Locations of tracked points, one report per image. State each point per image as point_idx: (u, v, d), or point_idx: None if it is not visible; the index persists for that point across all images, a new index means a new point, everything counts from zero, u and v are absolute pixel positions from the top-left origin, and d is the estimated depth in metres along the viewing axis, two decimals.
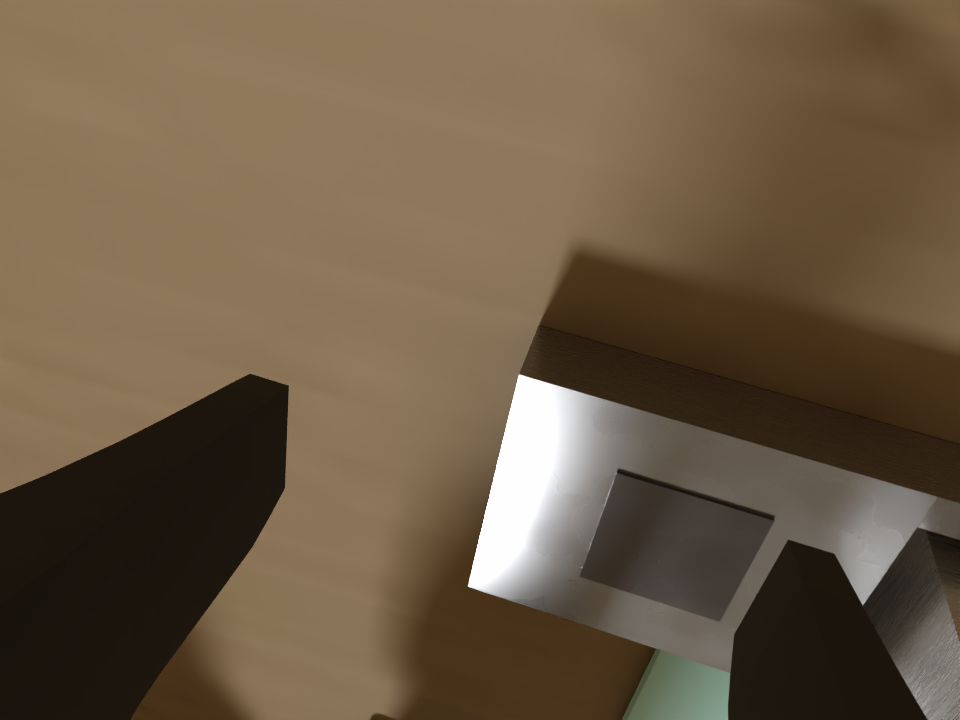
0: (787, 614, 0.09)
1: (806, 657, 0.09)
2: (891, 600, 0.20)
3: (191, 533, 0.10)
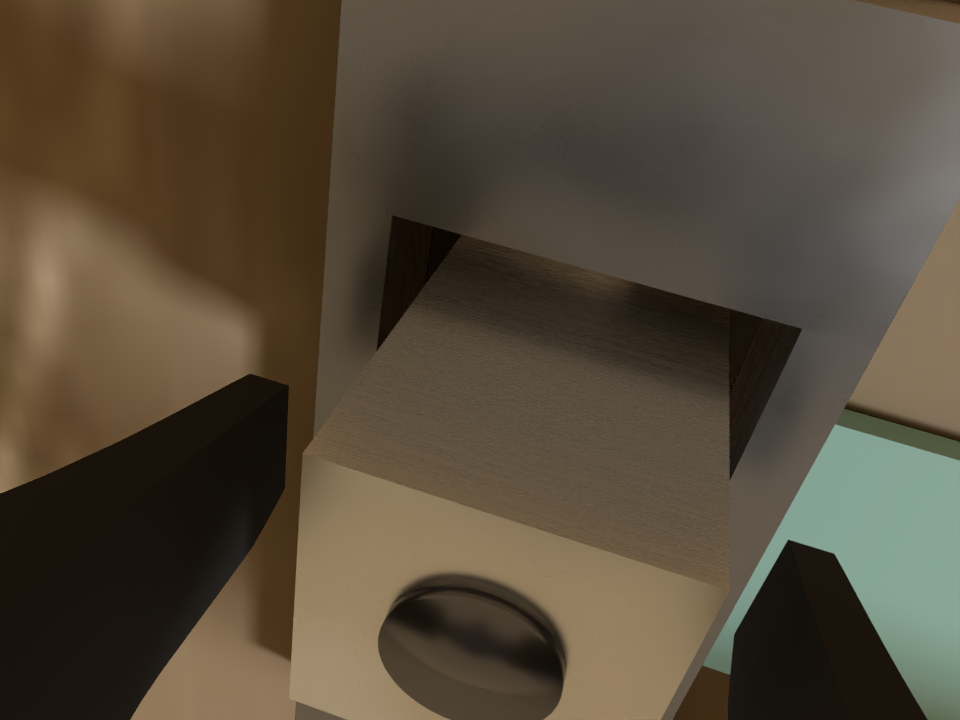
0: (787, 614, 0.09)
1: (806, 657, 0.09)
2: None
3: (191, 533, 0.10)
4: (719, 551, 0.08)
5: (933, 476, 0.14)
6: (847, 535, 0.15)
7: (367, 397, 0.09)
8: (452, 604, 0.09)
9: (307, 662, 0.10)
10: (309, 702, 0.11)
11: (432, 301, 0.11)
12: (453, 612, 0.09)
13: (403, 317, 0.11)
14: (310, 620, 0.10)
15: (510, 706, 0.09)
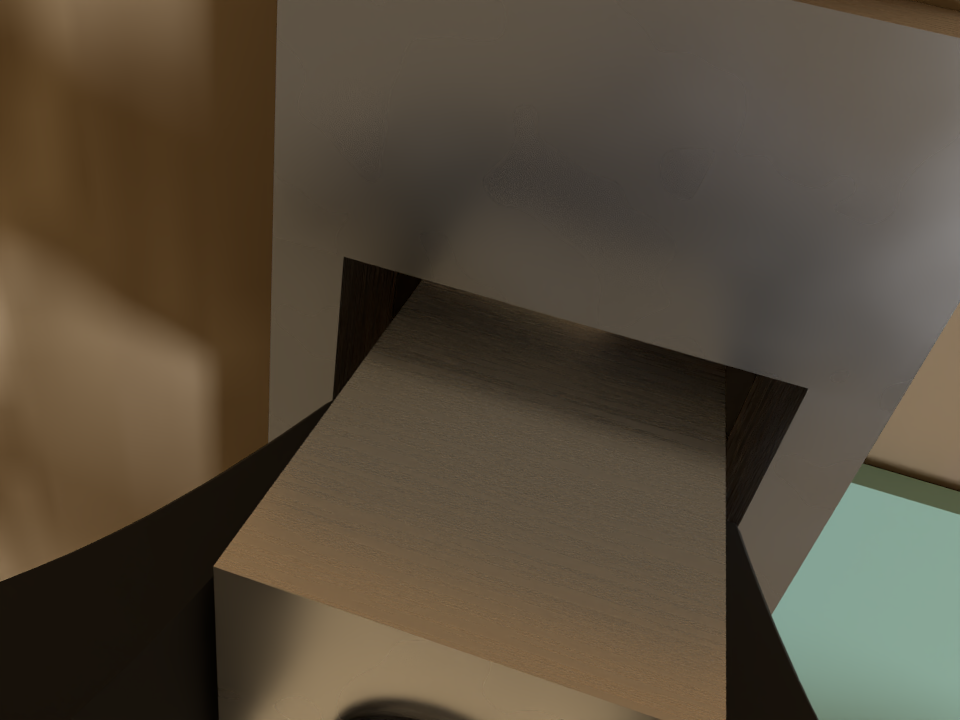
0: None
1: None
2: None
3: None
4: (713, 684, 0.07)
5: (951, 537, 0.12)
6: (855, 597, 0.13)
7: (299, 486, 0.08)
8: None
9: None
10: None
11: (387, 357, 0.10)
12: None
13: (351, 379, 0.09)
14: None
15: None
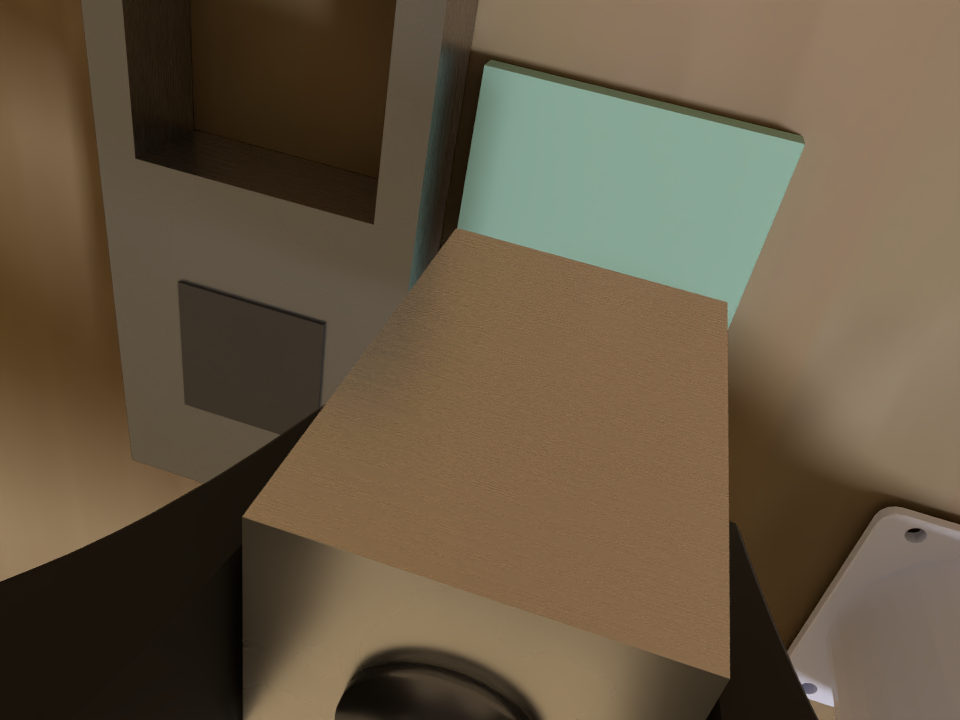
0: None
1: None
2: None
3: None
4: (718, 628, 0.07)
5: (571, 108, 0.17)
6: (524, 178, 0.18)
7: (321, 446, 0.08)
8: (415, 684, 0.08)
9: None
10: None
11: (401, 330, 0.10)
12: (417, 693, 0.08)
13: (368, 349, 0.10)
14: (261, 692, 0.09)
15: None
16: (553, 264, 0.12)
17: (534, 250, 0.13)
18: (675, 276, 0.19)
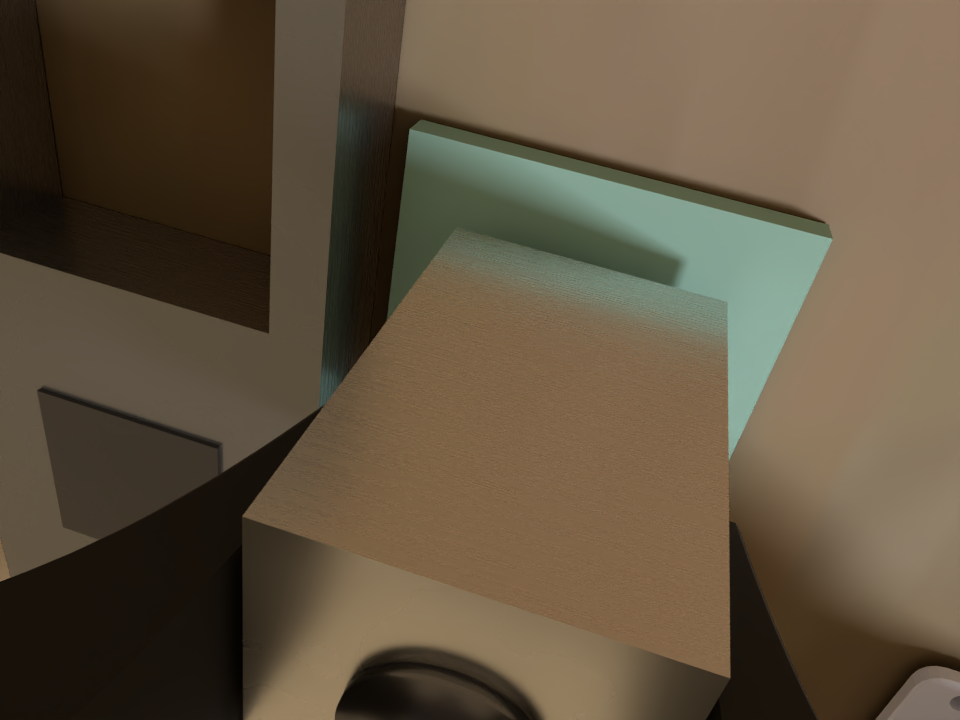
0: None
1: None
2: None
3: None
4: (718, 627, 0.07)
5: (523, 186, 0.13)
6: None
7: (321, 445, 0.08)
8: (415, 683, 0.08)
9: None
10: None
11: (401, 330, 0.10)
12: (417, 692, 0.08)
13: (368, 349, 0.10)
14: (261, 692, 0.09)
15: None
16: (553, 264, 0.12)
17: (534, 250, 0.13)
18: None
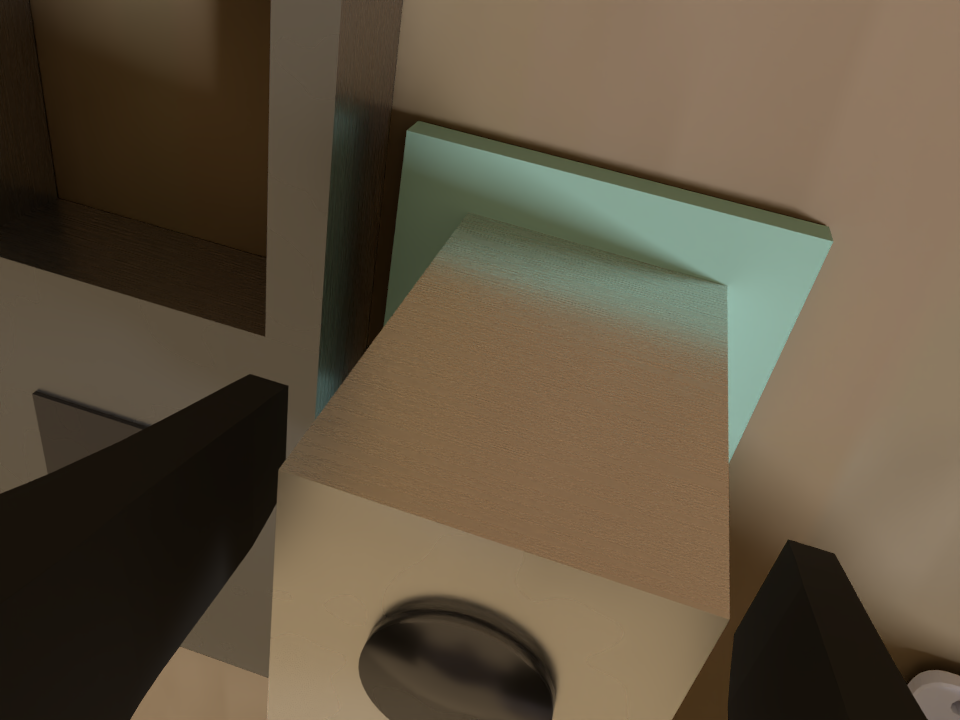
0: (787, 614, 0.09)
1: (806, 657, 0.09)
2: None
3: (191, 533, 0.10)
4: (718, 576, 0.08)
5: (521, 188, 0.13)
6: None
7: (348, 409, 0.09)
8: (436, 629, 0.08)
9: (285, 684, 0.10)
10: None
11: (419, 306, 0.11)
12: (437, 637, 0.08)
13: (388, 323, 0.10)
14: (288, 641, 0.09)
15: None
16: (561, 248, 0.13)
17: (542, 234, 0.13)
18: None
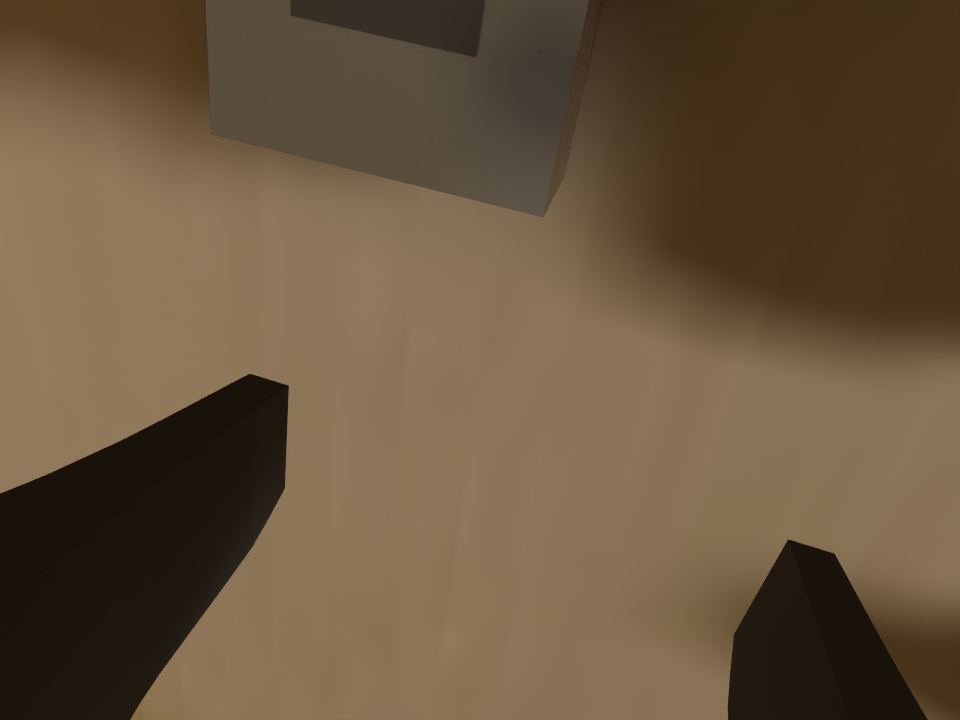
0: (787, 614, 0.09)
1: (806, 657, 0.09)
2: None
3: (191, 533, 0.10)
4: None
5: None
6: None
7: None
8: None
9: None
10: None
11: None
12: None
13: None
14: None
15: None
16: None
17: None
18: None
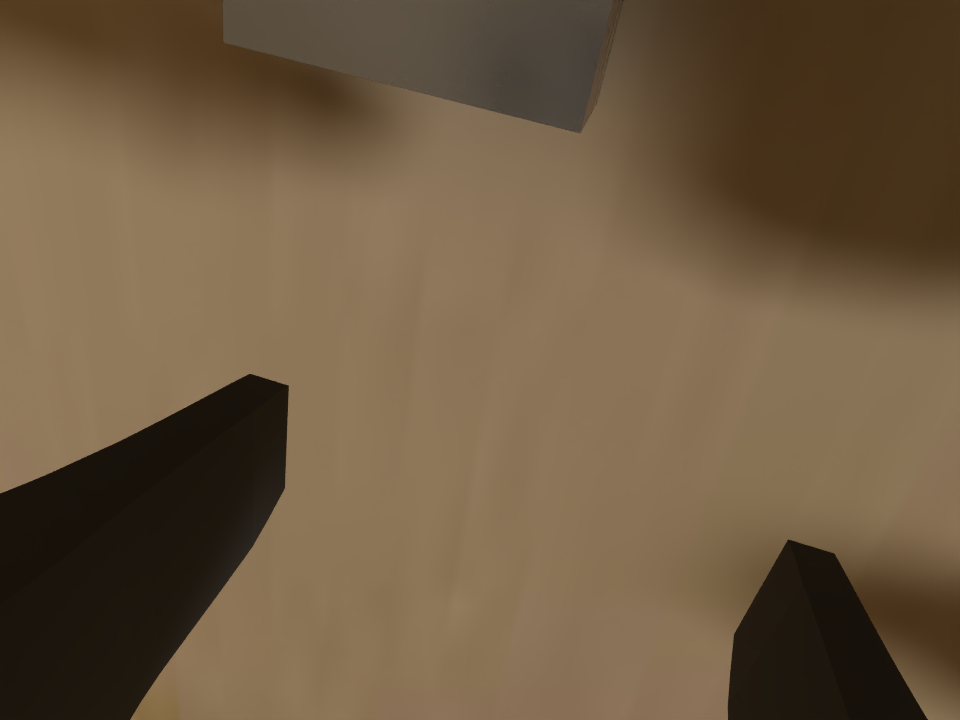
0: (787, 614, 0.09)
1: (806, 657, 0.09)
2: None
3: (191, 533, 0.10)
4: None
5: None
6: None
7: None
8: None
9: None
10: None
11: None
12: None
13: None
14: None
15: None
16: None
17: None
18: None
